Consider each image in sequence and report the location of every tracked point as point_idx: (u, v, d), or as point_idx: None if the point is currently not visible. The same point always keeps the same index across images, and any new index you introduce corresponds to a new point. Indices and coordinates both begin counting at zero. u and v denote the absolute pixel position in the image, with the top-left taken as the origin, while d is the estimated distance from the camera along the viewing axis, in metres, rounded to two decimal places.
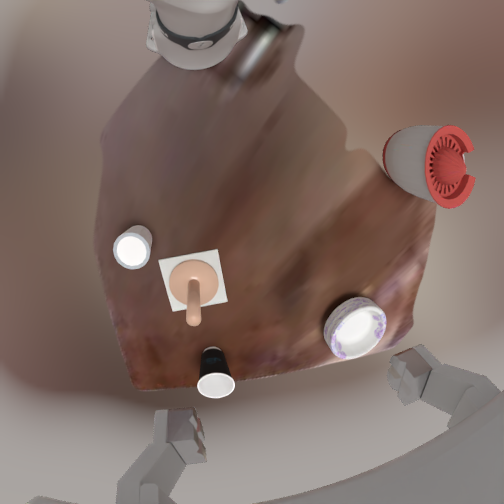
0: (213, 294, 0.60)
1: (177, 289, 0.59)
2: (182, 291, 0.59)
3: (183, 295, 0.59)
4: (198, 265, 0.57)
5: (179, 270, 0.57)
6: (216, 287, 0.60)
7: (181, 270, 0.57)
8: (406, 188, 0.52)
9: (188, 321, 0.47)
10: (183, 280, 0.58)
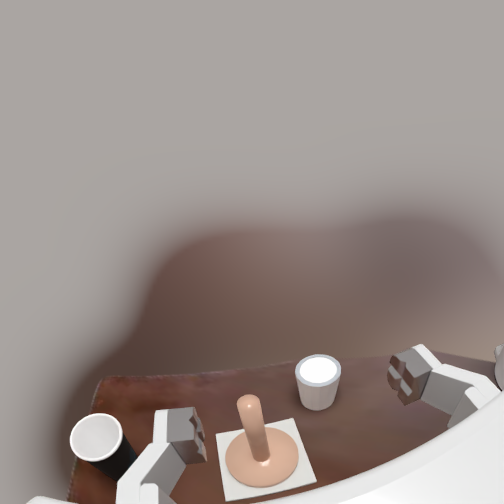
0: (243, 479, 0.30)
1: None
2: None
3: (243, 443, 0.35)
4: (293, 458, 0.32)
5: (283, 437, 0.36)
6: (256, 482, 0.29)
7: (283, 439, 0.35)
8: None
9: (245, 397, 0.29)
10: (268, 442, 0.35)
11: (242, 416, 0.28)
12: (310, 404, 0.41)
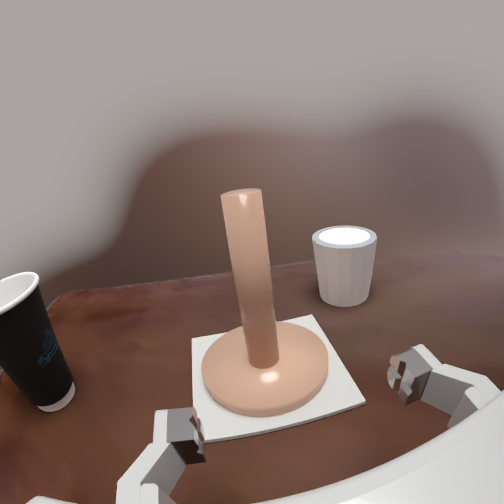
0: (231, 397, 0.19)
1: None
2: None
3: (234, 343, 0.24)
4: (319, 361, 0.21)
5: (300, 332, 0.25)
6: (254, 403, 0.18)
7: (300, 335, 0.24)
8: None
9: (237, 190, 0.18)
10: None
11: (229, 218, 0.17)
12: (336, 293, 0.29)
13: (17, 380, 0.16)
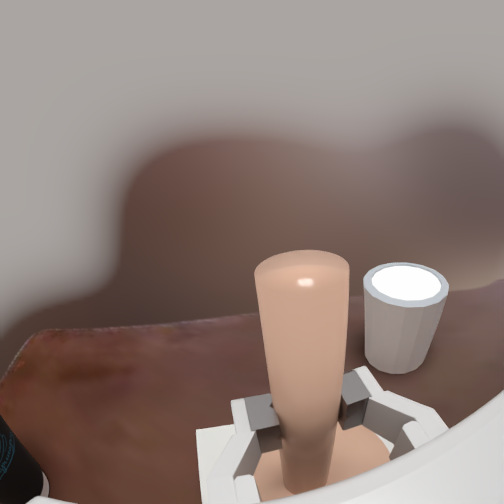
0: None
1: None
2: None
3: None
4: None
5: (352, 432, 0.15)
6: None
7: (353, 437, 0.14)
8: None
9: (287, 256, 0.08)
10: None
11: (277, 333, 0.07)
12: (392, 360, 0.20)
13: None
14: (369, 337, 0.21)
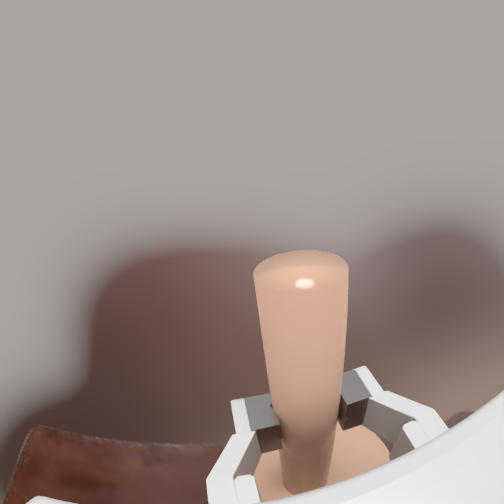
0: None
1: None
2: None
3: None
4: None
5: (352, 432, 0.15)
6: None
7: (353, 437, 0.14)
8: None
9: (286, 256, 0.08)
10: None
11: (276, 334, 0.07)
12: None
13: None
14: None
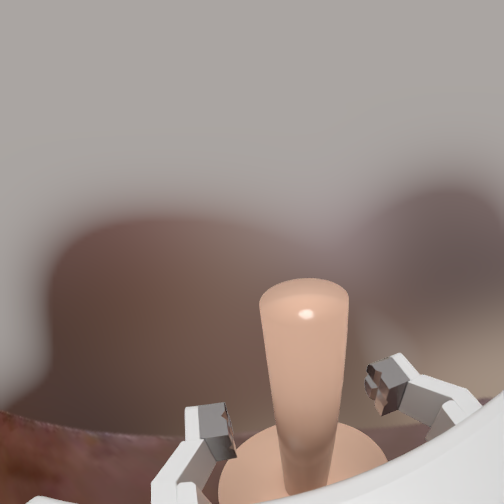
0: None
1: None
2: (277, 454, 0.15)
3: (261, 457, 0.15)
4: None
5: (351, 438, 0.15)
6: None
7: (352, 443, 0.15)
8: None
9: (290, 285, 0.09)
10: None
11: (280, 359, 0.07)
12: None
13: None
14: None
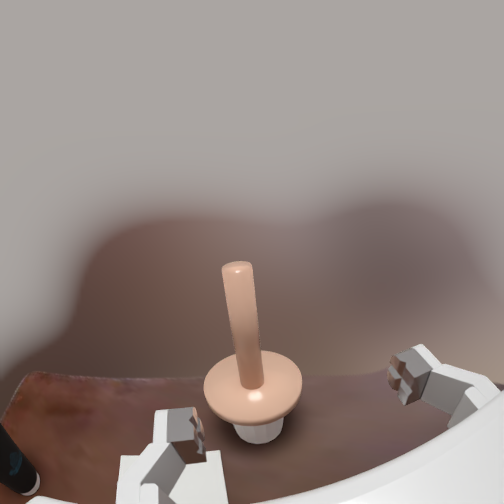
0: (227, 411, 0.25)
1: None
2: (238, 366, 0.30)
3: (229, 368, 0.30)
4: (294, 385, 0.27)
5: (281, 361, 0.31)
6: (244, 416, 0.24)
7: (281, 363, 0.30)
8: None
9: (233, 263, 0.24)
10: None
11: (228, 287, 0.23)
12: (244, 435, 0.28)
13: None
14: None
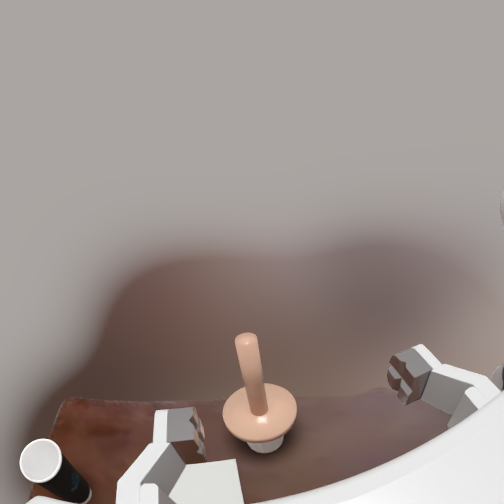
0: (241, 433, 0.32)
1: None
2: (248, 397, 0.38)
3: (241, 398, 0.38)
4: (291, 412, 0.35)
5: (281, 392, 0.38)
6: (253, 436, 0.32)
7: (281, 394, 0.38)
8: None
9: (243, 334, 0.32)
10: (265, 397, 0.38)
11: (240, 353, 0.31)
12: (254, 447, 0.36)
13: (60, 496, 0.23)
14: None
